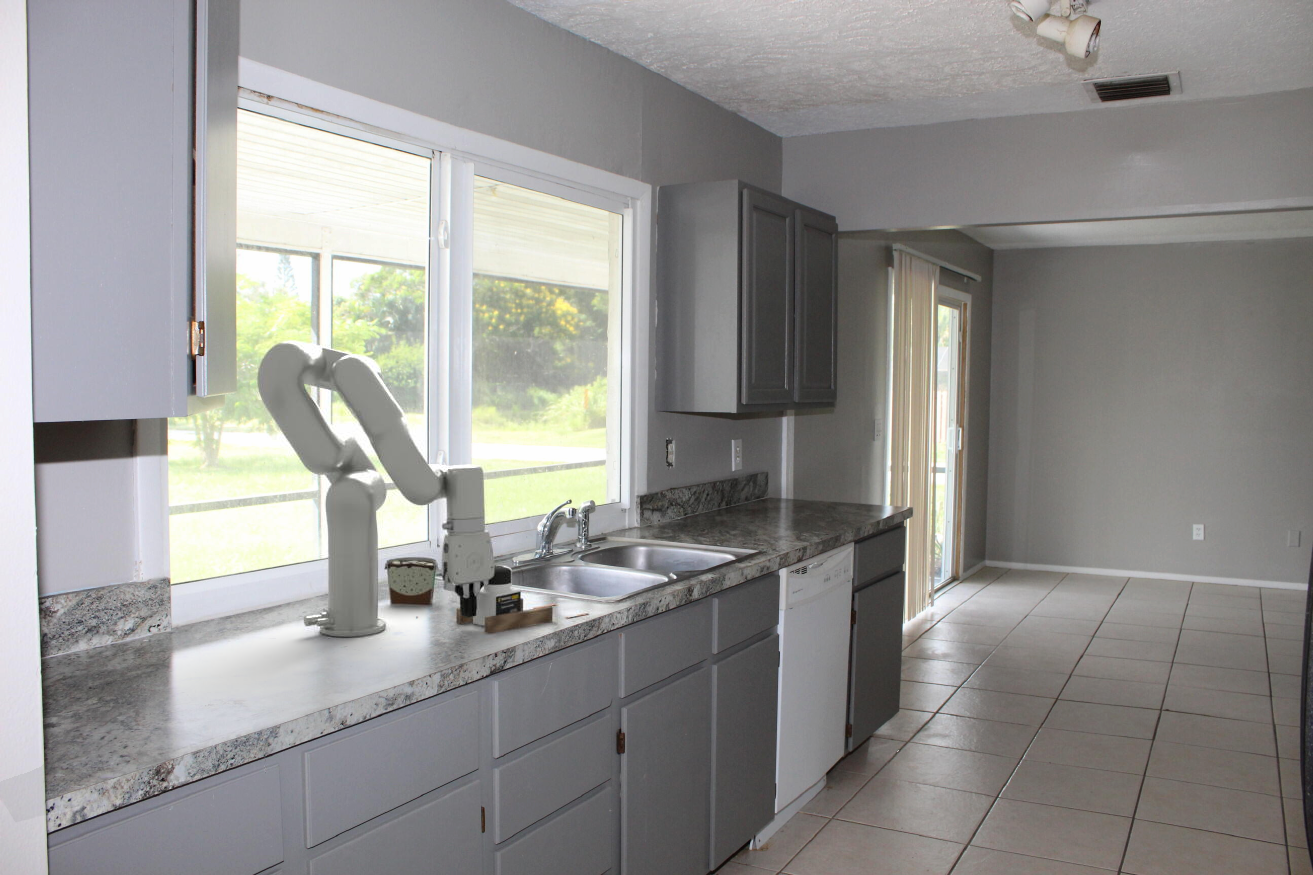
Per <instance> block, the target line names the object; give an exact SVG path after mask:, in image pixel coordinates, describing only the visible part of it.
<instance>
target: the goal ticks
mask: <svg viewBox="0 0 1313 875" xmlns="http://www.w3.org/2000/svg"><path fill="white" fill-rule="evenodd" d="M554 605H555V606H557V604H556V603H553V604H552V603H551V604H545V605H541V606H535V607H533V609H535V608H540V607H546V606H550V607H555V606H554ZM586 614H589V615H590V613H589V612H586V613H580V614H576V615H577V616H578V617H581V616H580V615H584V616H587V615H586ZM565 619H571V618H570V617H569V616H565Z"/></svg>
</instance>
